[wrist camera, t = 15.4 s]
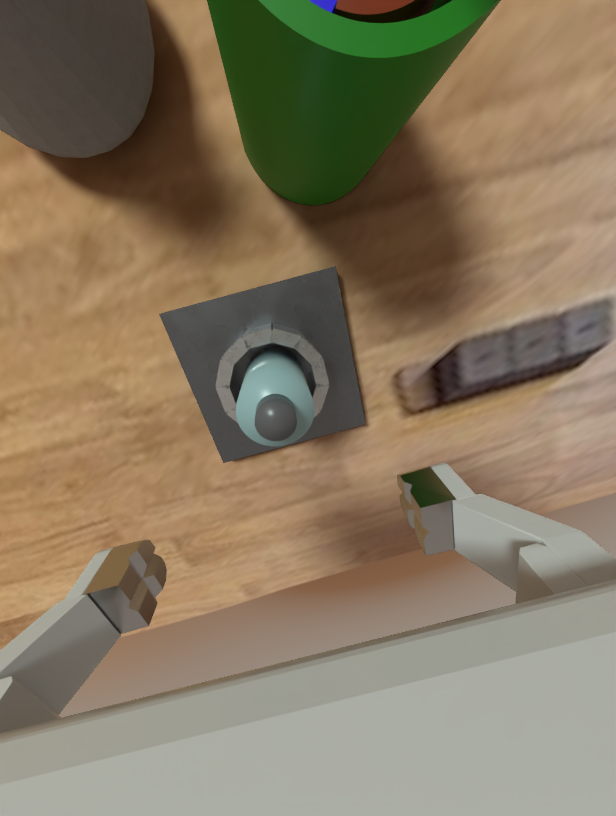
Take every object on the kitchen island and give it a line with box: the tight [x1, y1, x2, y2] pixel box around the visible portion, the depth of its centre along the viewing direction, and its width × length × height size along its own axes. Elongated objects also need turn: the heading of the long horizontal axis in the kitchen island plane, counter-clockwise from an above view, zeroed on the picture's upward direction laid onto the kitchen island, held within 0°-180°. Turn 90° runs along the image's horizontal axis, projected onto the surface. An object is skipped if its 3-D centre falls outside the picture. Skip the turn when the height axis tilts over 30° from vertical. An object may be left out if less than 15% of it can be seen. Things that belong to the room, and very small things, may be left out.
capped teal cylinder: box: [236, 348, 314, 446], centre depth 21 cm, size 5×5×10 cm
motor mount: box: [159, 266, 365, 463], centre depth 25 cm, size 14×14×4 cm
